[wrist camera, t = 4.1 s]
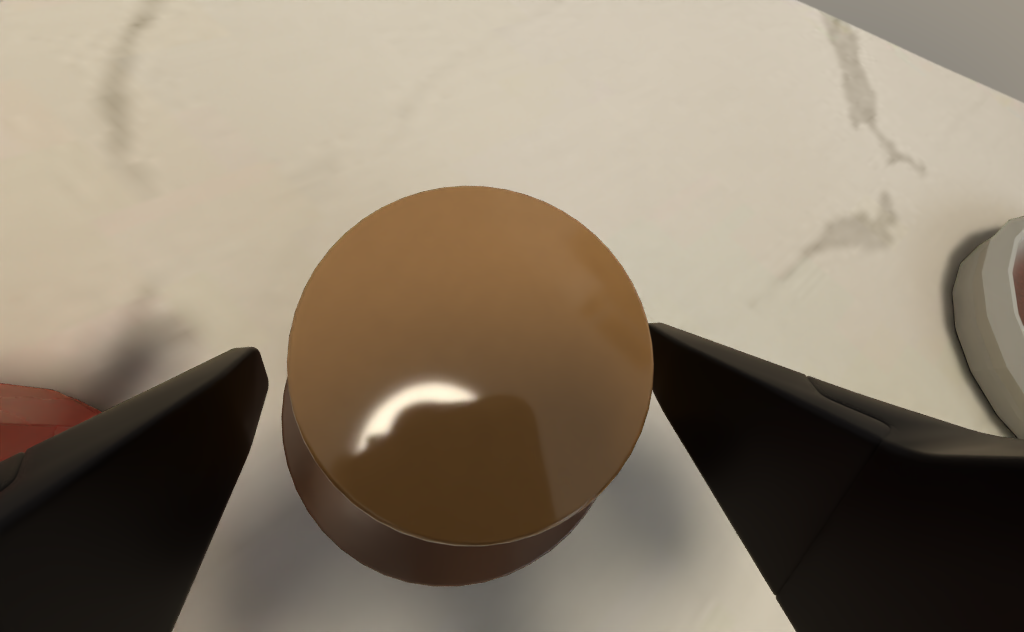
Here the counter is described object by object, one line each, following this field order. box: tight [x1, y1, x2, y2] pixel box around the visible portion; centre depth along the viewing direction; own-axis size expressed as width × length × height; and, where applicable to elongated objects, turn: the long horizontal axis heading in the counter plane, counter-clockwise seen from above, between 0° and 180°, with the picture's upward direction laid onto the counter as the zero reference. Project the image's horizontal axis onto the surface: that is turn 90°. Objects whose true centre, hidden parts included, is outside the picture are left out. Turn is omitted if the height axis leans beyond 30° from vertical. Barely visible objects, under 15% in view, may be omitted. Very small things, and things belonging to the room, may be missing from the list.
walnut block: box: [282, 376, 597, 586], centre depth 14 cm, size 11×11×4 cm
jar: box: [287, 186, 654, 546], centre depth 9 cm, size 6×6×7 cm
